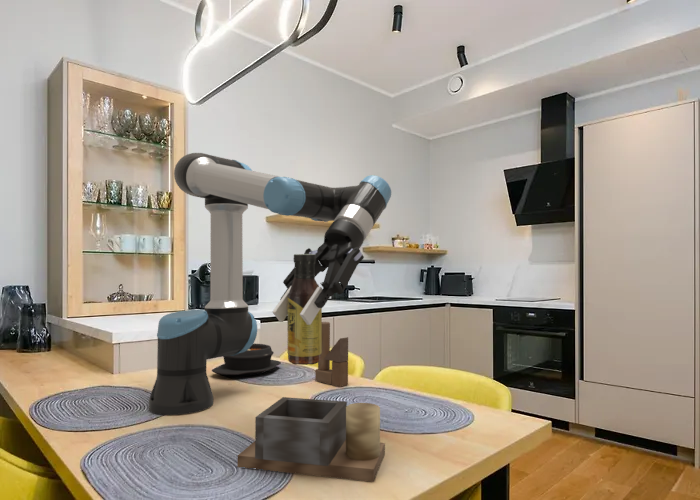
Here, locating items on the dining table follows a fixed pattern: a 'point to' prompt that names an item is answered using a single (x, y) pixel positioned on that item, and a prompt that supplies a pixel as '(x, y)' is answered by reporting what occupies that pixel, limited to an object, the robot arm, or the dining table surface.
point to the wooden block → (333, 360)
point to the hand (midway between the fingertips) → (291, 318)
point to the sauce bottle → (300, 335)
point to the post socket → (317, 439)
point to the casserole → (248, 361)
